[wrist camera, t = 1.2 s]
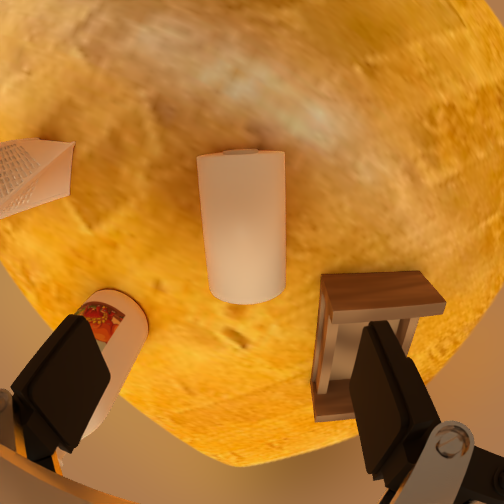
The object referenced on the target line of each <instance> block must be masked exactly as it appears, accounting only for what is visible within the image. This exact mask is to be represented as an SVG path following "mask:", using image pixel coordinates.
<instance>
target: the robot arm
mask: <svg viewBox="0 0 504 504" xmlns="http://www.w3.org/2000/svg"><path fill="white" fill-rule="evenodd" d="M110 379H111V374H110V371H109V369H108V367H107V364H106V362H105V360H104V358H103V355H102V353H101V351H100V348H99V346H98V344H97V341H96V339H95V336H94V334H93V331H92V328H91V326H90V323H89V322H88V321H87V320H86V318H85V317H84V316H82V315H73V314H70V315H68V316H67V317H66V318H65V319H64V320H63V321H62V323H61V324H60V325H59V326H58V327H57V328H56V330H55V331H54V332H53V333H52V335H51V336H50V337H49V338H48V339H47V340H46V342H45V343H44V344H43V345H42V346H41V348H40V349H39V350H38V351H37V353H36V354H35V355H34V356H33V358H32V359H31V360H30V361H29V363H28V364H27V365H26V367H25V368H24V369H23V370H22V372H21V373H20V375H19V376H18V377H17V378H16V380H15V381H14V382H13V384H12V385H11V389H12V390H13V392H14V395H13V396H12V395H11V393H10V392H9V391H8V390H6V389H0V504H139V503H136V502H132V501H129V500H125V499H122V498H119V497H115V496H112V495H109V494H106V493H103V492H101V491H98V490H95V489H92V488H90V487H87V486H85V485H82V484H80V483H77V482H75V481H72V480H70V479H68V478H65V477H63V475H62V471H61V468H60V464H59V461H58V457H57V453H56V448H57V446H58V447H59V448H60V449H61V450H63V451H65V452H68V453H70V454H71V453H72V451H73V449H74V448H76V447H77V446H78V444H79V442H80V440H81V438H82V436H83V434H84V432H85V430H86V428H87V425H88V423H89V421H90V419H91V417H92V415H93V413H94V411H95V409H96V407H97V405H98V403H99V401H100V399H101V398H102V396H103V394H104V392H105V390H106V388H107V386H108V384H109V382H110ZM349 392H350V396H351V400H352V405H353V409H354V413H355V418H356V422H357V427H358V431H359V436H360V440H361V446H362V451H363V456H364V460H365V466H366V471H367V473H368V474H372V475H373V480H374V481H375V480H380V479H384V482H385V487H387V489H386V490H385V492H384V494H383V495H382V497H381V498H380V500H379V501H378V503H377V504H504V457H501V456H499V455H496V454H494V453H491V452H488V451H486V450H484V449H481V448H479V447H476V446H474V437H473V434H472V432H471V431H470V429H469V428H468V427H467V426H466V425H464V424H462V423H460V422H457V421H445V422H443V423H441V421H440V418H439V416H438V414H437V411H436V409H435V407H434V405H433V402H432V400H431V398H430V396H429V394H428V391H427V389H426V387H425V385H424V383H423V380H422V378H421V376H420V374H419V372H418V370H417V368H416V366H415V364H414V362H413V361H412V359H411V358H409V357H406V355H405V353H404V351H403V349H402V347H401V345H400V343H399V341H398V339H397V337H396V335H395V333H394V331H393V329H392V327H391V326H390V324H389V322H388V321H387V320H381V321H370V322H369V324H368V326H364V327H363V330H362V335H361V339H360V343H359V348H358V352H357V356H356V360H355V364H354V368H353V371H352V375H351V379H350V383H349Z"/></svg>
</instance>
